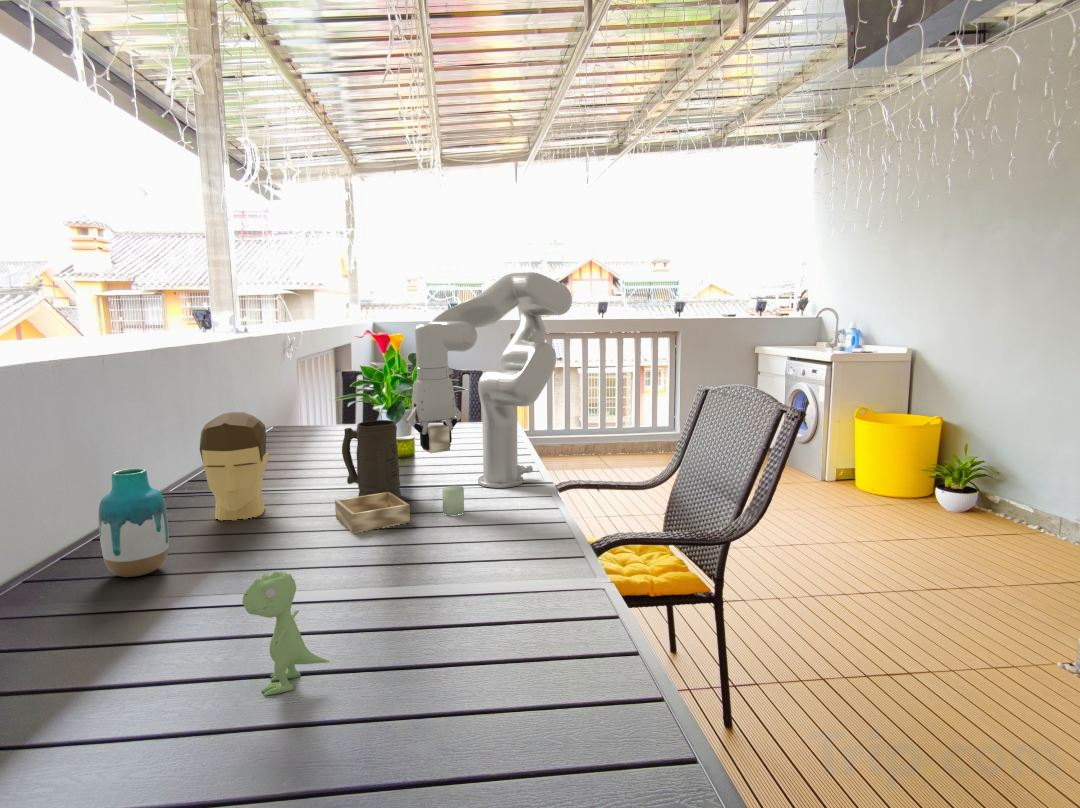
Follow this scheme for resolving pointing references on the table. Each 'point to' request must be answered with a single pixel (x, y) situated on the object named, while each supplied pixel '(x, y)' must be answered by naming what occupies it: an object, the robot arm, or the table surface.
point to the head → (235, 464)
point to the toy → (280, 627)
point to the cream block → (438, 438)
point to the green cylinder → (453, 500)
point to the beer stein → (373, 457)
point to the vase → (133, 525)
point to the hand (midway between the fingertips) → (436, 446)
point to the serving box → (372, 512)
